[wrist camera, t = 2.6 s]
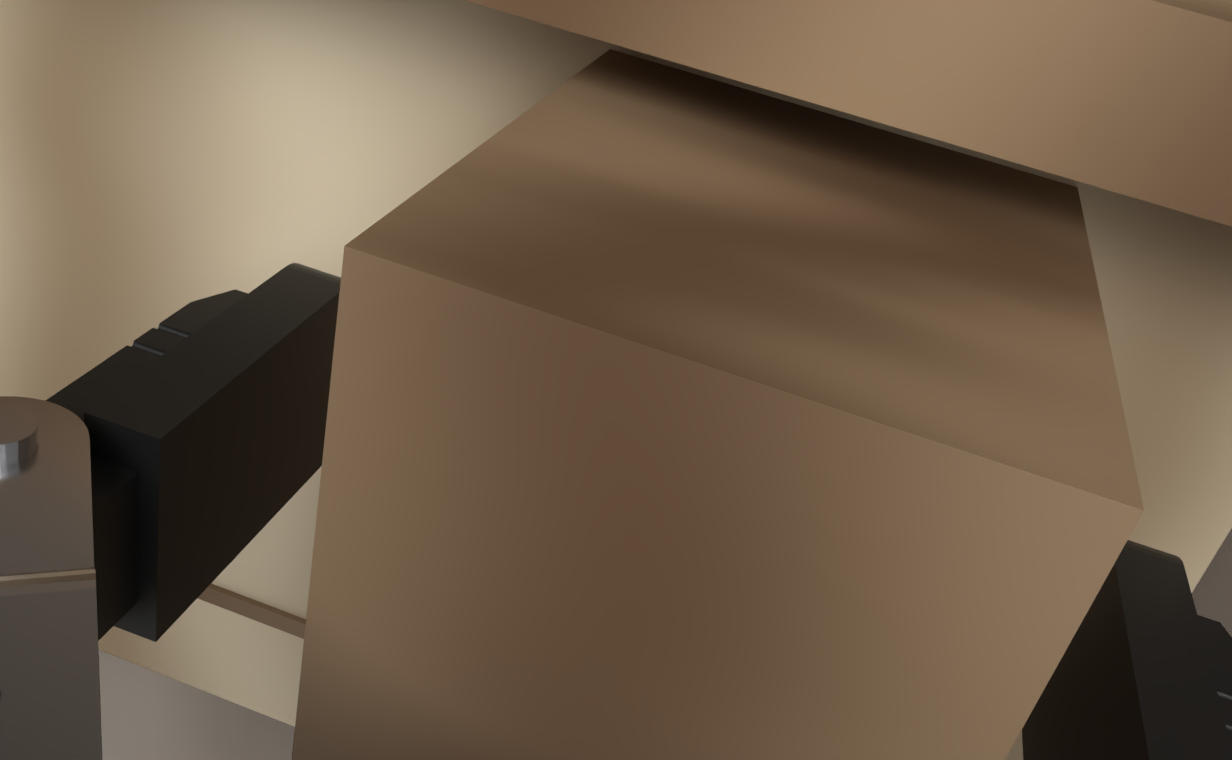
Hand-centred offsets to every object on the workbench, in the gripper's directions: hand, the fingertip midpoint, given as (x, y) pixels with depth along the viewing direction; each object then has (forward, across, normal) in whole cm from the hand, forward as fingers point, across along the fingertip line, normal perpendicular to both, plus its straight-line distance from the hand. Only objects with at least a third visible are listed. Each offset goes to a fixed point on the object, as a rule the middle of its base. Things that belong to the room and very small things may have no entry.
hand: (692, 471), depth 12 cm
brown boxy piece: (+2, 0, +2) cm, 2 cm away
